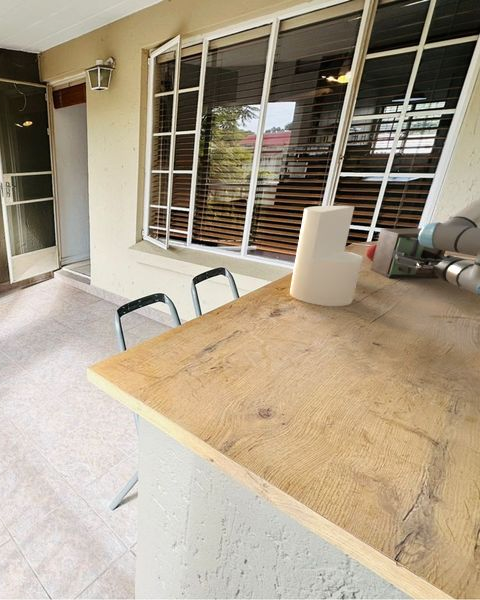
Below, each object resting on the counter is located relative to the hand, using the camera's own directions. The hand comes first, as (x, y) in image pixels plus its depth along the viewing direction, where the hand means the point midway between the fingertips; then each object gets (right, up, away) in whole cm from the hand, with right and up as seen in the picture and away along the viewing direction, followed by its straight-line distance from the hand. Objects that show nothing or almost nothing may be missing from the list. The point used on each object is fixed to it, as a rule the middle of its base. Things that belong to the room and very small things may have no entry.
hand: (407, 253), depth 124 cm
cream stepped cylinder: (-38, -16, -10) cm, 42 cm away
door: (0, -8, 0) cm, 8 cm away
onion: (+8, 0, +24) cm, 25 cm away
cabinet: (+5, -6, +8) cm, 11 cm away
